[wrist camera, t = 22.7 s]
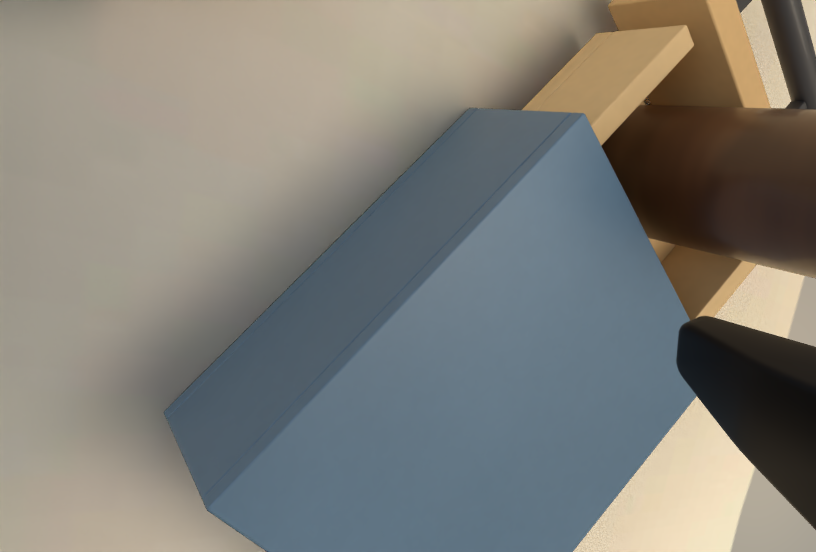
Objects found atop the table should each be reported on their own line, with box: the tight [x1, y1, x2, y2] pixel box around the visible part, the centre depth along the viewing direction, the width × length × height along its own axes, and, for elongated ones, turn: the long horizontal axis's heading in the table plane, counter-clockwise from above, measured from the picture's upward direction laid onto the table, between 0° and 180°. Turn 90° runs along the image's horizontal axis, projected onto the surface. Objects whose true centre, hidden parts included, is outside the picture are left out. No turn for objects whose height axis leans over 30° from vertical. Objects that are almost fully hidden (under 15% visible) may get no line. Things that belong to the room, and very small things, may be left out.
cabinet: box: [164, 108, 697, 552], centre depth 22 cm, size 14×12×6 cm
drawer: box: [522, 0, 816, 321], centre depth 24 cm, size 18×11×4 cm, turn 130°
